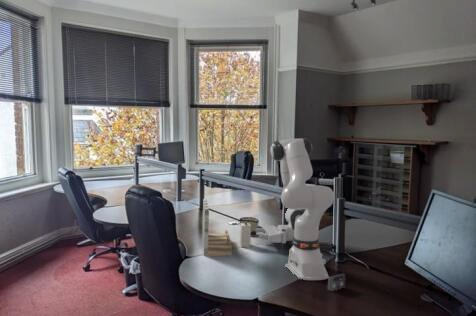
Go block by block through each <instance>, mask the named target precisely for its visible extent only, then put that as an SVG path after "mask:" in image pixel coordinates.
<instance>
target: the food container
mask: <svg viewBox="0 0 476 316" xmlns="http://www.w3.org/2000/svg"><path fill="white" fill-rule="evenodd" d="M244 221H246V222H247V223H250V225H251V237H257V235H258V233H256V229H258V226H259V224H260V221H259V219H258V218H257V217H253V216H244V217H240V218H239V219H238V222H239V224H240V223H244Z"/></svg>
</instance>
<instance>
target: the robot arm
mask: <svg viewBox="0 0 476 316" xmlns="http://www.w3.org/2000/svg"><path fill="white" fill-rule="evenodd" d="M269 152H270V155H271V157H272V159H273V160H274V161H280V162H279V164H280V175H281V182H282V185H283V189H282V192H281V194H280V201H281V204H282V205H283V206H284V208H288V209H287V211H286V213H285V219H286V220H285V219H284V220H285V222H287V223H288V224H277V226H275V225H273V224H272V225H270V224H269V225H268V224H265V225H262V227H261V228H260V227H259V228H257V229H256V233H257V234H258V233H259V234H258V238H259V239H264V240H268V242H270V243H275V244H276V243H277V244H279V243H282V244H286V243H287V242H290V241H292V246H291V248H289V250H288V251H289V254H288V262H287V263H285V265H284V268H286V267H287V268H288V269H289V270H290V271H291V272H292V273H291V272H290V271H289V270H288V269H287V268H286V269H287V270H288V271H289V272H290V273H291V274H293V275H294V274H295V275H296V276H297V277H298V278H297V277H296V276H295V275H294V276H295V277H296V278H297V279H299V280H302V279H303V280H304V281H323V280H327V279H328V277H330V276H329V274H328V271H327V269H326V267H325V265H326V264H327V262H326V258H322V257H323V256H324V255H323V253H321V249H320V241H319V227H320V222H321V219H322V217H323V215H324V214H325V212H326V211H327V210H328V209H329V208H330V207H332V205H333V204H334V201H335V194H334V191H333V190H332V188H331V187H329V186H325V185H307V184H306V183H307V181H308V180H310V179H311V177H312V176H313V172H314V170H313V166H312V163H311V159H310V156H311V155H312V152H313V145H312V142H311V140H310V139H309V138H307V137H301V138H287V139H282V140H276V141H273V142H271V144H270V149H269ZM303 280H302V281H303Z"/></svg>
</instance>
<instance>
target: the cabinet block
mask: <svg viewBox="0 0 476 316" xmlns="http://www.w3.org/2000/svg"><path fill="white" fill-rule="evenodd" d="M239 225H240V227H239V228H240V229H239V245H240V248H251V237H252V236H251V225H250V223H247V222H246V221H244V223H240V222H239Z"/></svg>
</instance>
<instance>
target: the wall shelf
mask: <svg viewBox="0 0 476 316" xmlns="http://www.w3.org/2000/svg"><path fill="white" fill-rule="evenodd" d="M202 201H203V202H202V247H203V248H202V249H203V256H204V257H205V256H207V257H211V256H212V257H213V256H215V257H216V256H219V257H220V256H232V254H233V253H232V252H233V249H232V248H233V244H232V243H233V242H232V240H231V237H230V234H229V231H228V229H225V233H209V229H210V228H209V217H210V208H209V203H208V200H207V198H203V200H202Z"/></svg>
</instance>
